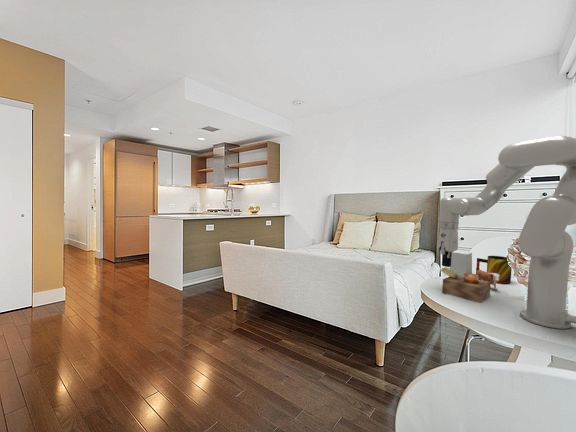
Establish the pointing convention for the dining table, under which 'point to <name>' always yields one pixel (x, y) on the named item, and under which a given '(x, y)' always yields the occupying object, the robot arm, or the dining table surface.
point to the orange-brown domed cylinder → (471, 278)
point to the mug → (497, 268)
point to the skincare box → (461, 262)
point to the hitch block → (466, 289)
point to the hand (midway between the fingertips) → (446, 266)
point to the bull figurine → (488, 277)
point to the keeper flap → (449, 273)
